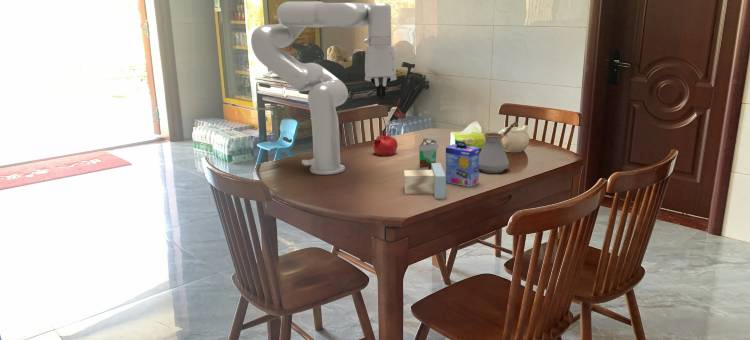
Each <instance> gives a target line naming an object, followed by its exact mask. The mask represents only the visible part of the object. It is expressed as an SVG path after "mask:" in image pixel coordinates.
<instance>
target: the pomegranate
mask: <svg viewBox="0 0 750 340" xmlns="http://www.w3.org/2000/svg"><path fill="white" fill-rule="evenodd" d="M398 145H399V144H398V141H397V139H396V138H395V137H393V135H392V134H387V131H384V132H383V135H382V134H379V135H377V136H376V137H375V139H374V141H373V142H372V148H373V152H374V153H375V154H376V155H377V156H381V157H386V156H393V155H394V154H395V153H396V152H397V150H398V149H397V148H398V147H399V146H398Z"/></svg>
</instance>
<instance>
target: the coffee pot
mask: <svg viewBox="0 0 750 340" xmlns="http://www.w3.org/2000/svg"><path fill="white" fill-rule="evenodd" d="M515 125H517V126H515ZM518 127H519V124H518V123H517V122H513V123H512V124H510V125H509V126H508V127H507V128H506V130H505V131H504V132H502V133H499V132H490V133H489V132H487V133H484V135H483V136H484V138H485V142H484V143H483V146H482V147H481V150H480V151H479V170H480V171H481V172H483V173H488V174H499V173H503V172H504V170H506V169H507V168H508V167H509V165H510V162H509V159H508V157H507V154H506V151H505V149H504V145H503V143H502V141H501V140H502V139H503V138H505V136H506V135H507V134H509V133H510V131H511V130H512V129H513V128H518Z"/></svg>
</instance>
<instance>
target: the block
mask: <svg viewBox="0 0 750 340" xmlns="http://www.w3.org/2000/svg"><path fill="white" fill-rule="evenodd" d="M403 179H404V180H403V181H404V182H403V184H404V185H403V186H404V187H403V188H404V194H405V195H428V194H431V195H434V174H433V171H432V170H420V169H409V170H407V169H406V170H405V169H404V170H403Z"/></svg>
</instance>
